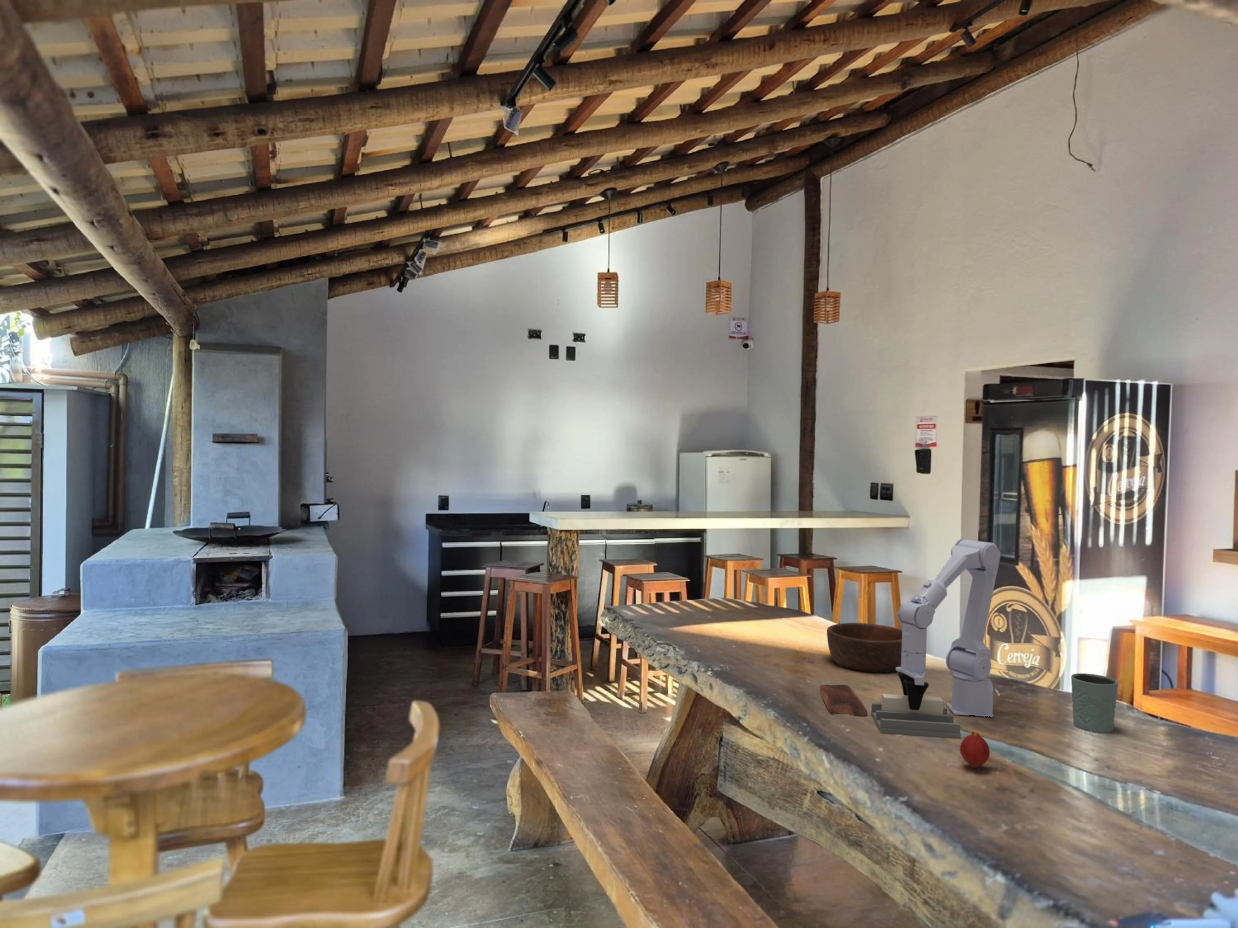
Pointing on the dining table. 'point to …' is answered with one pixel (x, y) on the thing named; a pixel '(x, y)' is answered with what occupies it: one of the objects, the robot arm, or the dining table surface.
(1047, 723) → the dining table surface
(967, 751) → the onion
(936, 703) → the clay bar
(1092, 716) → the dark green cup
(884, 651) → the wooden bowl
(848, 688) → the wooden tablet
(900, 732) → the grooved grey tray
